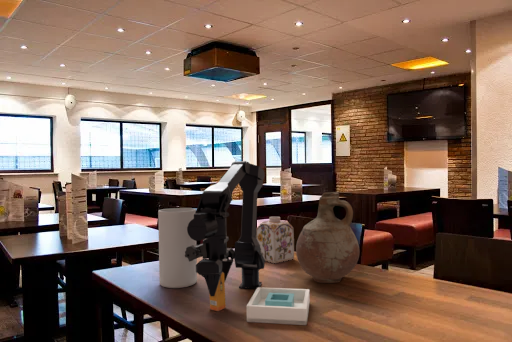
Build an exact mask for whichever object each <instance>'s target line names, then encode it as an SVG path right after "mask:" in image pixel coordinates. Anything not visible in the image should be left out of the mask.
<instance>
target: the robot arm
mask: <svg viewBox="0 0 512 342" xmlns="http://www.w3.org/2000/svg"><path fill="white" fill-rule="evenodd" d="M265 174H266V173H265V170H264V169H263V168H262V167H261V165H256V164H252V163H250V162H249V161H247V160H235V161H233V162H231V166H230V167H229V169H228V170H227V171H226V172H225V173H224V175H223V176H221V179H219V181H218V182H217V183H215V184H212V185H210V186H208V187H207V188H206V189H205V190H203V192H202V194H201V195H200V199H199V201H198V205H197V208H195V209H196V212H195V214H194V219H192V220H191V221H190V222H189V224H188V227H187V232H188V235H189V236H190V238H191V239H193V240H195V241H196V242H198V241H202V243H200V244H196V246H194V245H192V246H189V247H187V248H186V251H185V257H186V258H188V260H189V262H190V261H193V260H194V259H199V258H201V260H199V261H198V262H197V264H196V273H197V275H199V276H201V277H203V278H204V280H205V283H206V286H207V290H208V294H209V293H210V296H215V293H216V290H217V287H218V284H219V281H220V278H221V274H222V272H223V273H224V281H225V282H226V281H227V278H228V275H229V273H230V270H231V268H232V266H233V263H234V265H235V268H238V269H241V283H240V284H239V285H238V288H239V289H249V290H251V289H253V290H256V289H257V288H258V287H261V285H262V281H260V270H264V269H265V267H266V266H265V265H266V261H265V259H264V257H263V255H262V253H261V251H260V244H259V242H258V240H257V217H258V213H257V212H258V194H259V192H260V191H261V188H262V187H263V185H264V179H265ZM238 185H239V188H240V189H241V191H242V208H241V227H240V237H239V238H238V240H237V241H235V243H234V249H233V248H232V247H230V248H229V247H228V243H227V242H229V240H230V239H229V236H228V235H227V217H229V216H230V213H229V212H228V211H227V210H228V208H229V207H230V205H231V203H232V201H233V197H232V194H233V192H234V191H235V189H236V188H237V186H238Z"/></svg>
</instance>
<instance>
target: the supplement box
mask: <svg viewBox="0 0 512 342" xmlns="http://www.w3.org/2000/svg"><path fill="white" fill-rule="evenodd" d="M225 285H226V281H224V273H223V272H222V274H221V278H220V281H219V284H218V287H217V290H216V293H215V296H210V293H209V292H208V294H209V295H208V296H209V297H208V298H209V310H211V311H215V312H220V311H222V310H224V309H226V308H227V307H226V288H225V287H226V286H225Z"/></svg>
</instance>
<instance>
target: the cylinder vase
mask: <svg viewBox="0 0 512 342" xmlns="http://www.w3.org/2000/svg"><path fill="white" fill-rule="evenodd" d="M196 209H197V208H191V207H180V208H177V207H176V208H175V207H174V208H163V209H159V210H158V212H157V215H158V217H157V218H158V256H159V257H158V263H159V264H158V266H159V267H158V268H159V271H158V272H159V273H158V275H159V277H158V278H159V284H160V286H161V287H163V288H167V289H181V288H187V287H190V286H193V285H195V284H196V283H197V282H198V281H197V280H198V273H196V264H197V263H198V262H197V259H198V258H197V259H194V260H193V261H190V262H189V260H188V258H186V257H185V251H186V248H187V247H189V246H192V245H194V246H197V241H195V240H193V239H191V238H190V236H189V235H188V232H187V227H188V224H189V222H190V221H191V220H192V219H194V214H195V212H196Z"/></svg>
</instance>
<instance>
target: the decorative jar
mask: <svg viewBox="0 0 512 342" xmlns="http://www.w3.org/2000/svg"><path fill="white" fill-rule="evenodd" d="M294 235H295V234H294V227H293V225H292V224H291V223H289V221H287V220H281V217H280V216H269V218H268V220H265V221H261V223H259V225H258V226H256V239H257V240H258V242H259V244H260V251H261V253H262V255H263V257H264V259H265V262H266V261H268V262H267V263H270V262H272V263H271V264H274V263H275V264H279V262H280V263H283V261H284V262H288V260H289V261H293V260H294V259H295V238H294V237H295V236H294ZM292 259H293V260H292Z"/></svg>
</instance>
